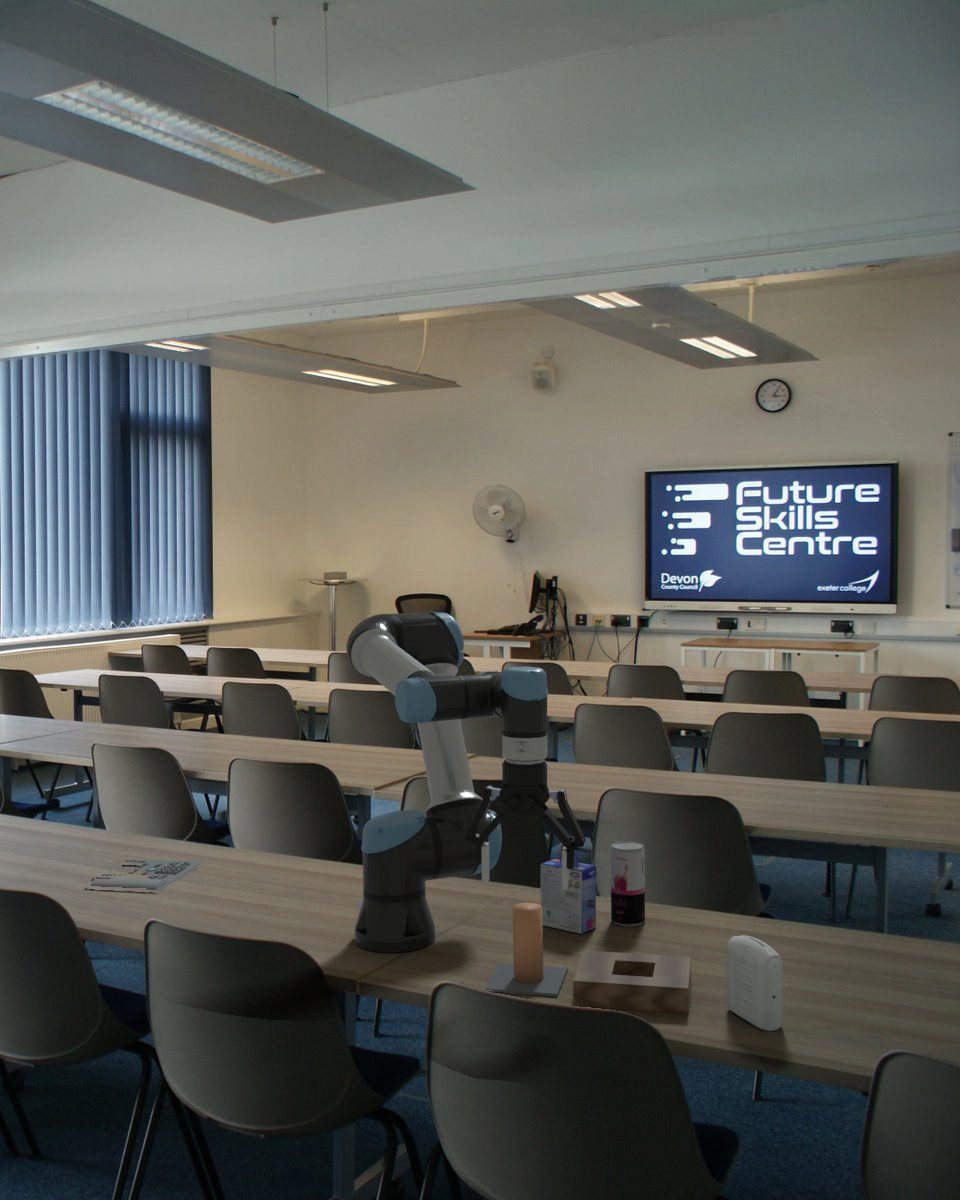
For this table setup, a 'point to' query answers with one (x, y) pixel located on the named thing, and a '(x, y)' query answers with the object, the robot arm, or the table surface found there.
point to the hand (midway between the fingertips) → (525, 884)
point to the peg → (528, 942)
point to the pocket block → (633, 981)
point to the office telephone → (150, 875)
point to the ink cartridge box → (569, 896)
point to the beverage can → (627, 883)
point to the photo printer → (755, 982)
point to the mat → (508, 984)
